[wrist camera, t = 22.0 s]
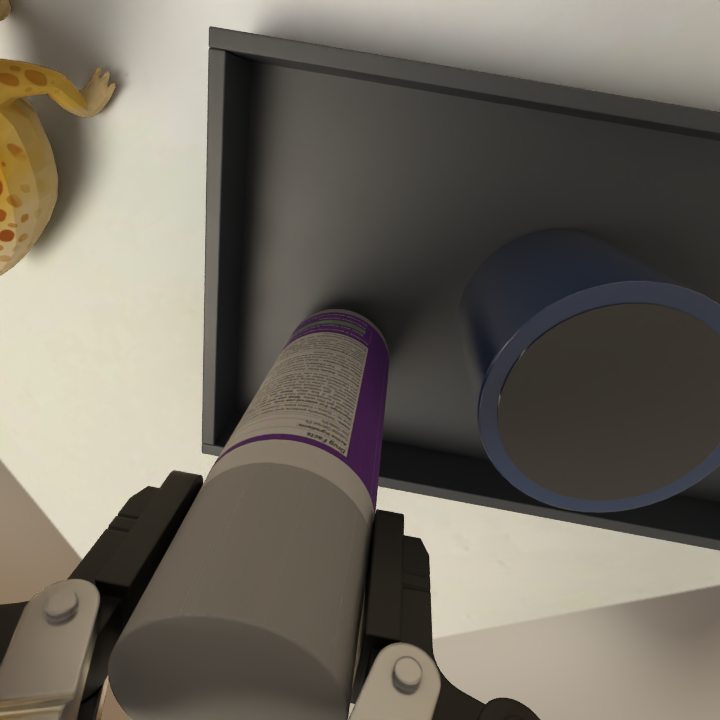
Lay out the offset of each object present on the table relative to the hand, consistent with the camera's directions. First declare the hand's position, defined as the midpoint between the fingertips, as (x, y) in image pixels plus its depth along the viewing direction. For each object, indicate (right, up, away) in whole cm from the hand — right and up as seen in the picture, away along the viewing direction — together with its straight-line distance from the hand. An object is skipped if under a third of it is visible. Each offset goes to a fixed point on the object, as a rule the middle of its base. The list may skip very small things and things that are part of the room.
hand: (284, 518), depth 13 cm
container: (+1, +4, +9) cm, 11 cm away
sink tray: (+10, +6, +10) cm, 15 cm away
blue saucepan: (+14, +5, +9) cm, 17 cm away
